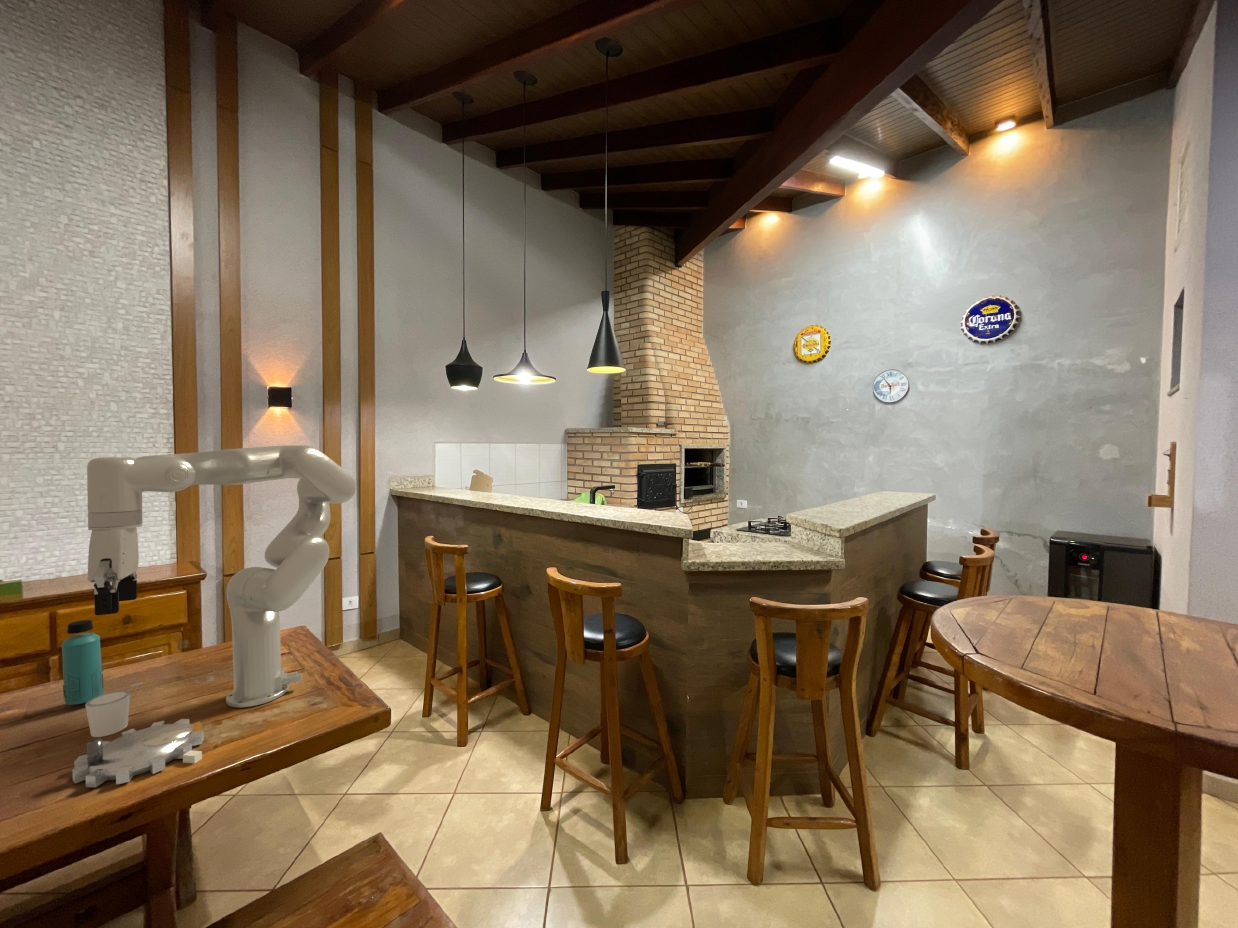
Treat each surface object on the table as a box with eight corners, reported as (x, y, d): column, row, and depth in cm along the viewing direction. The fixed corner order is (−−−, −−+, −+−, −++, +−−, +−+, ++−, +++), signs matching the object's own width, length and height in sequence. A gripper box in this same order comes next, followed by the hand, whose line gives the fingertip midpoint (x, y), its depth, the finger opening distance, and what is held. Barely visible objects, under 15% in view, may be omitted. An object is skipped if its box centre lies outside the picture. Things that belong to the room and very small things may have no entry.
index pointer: (183, 762, 96) (182, 754, 96) (190, 757, 98) (190, 750, 98) (194, 763, 96) (194, 755, 96) (202, 758, 98) (201, 751, 98)
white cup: (102, 740, 104) (101, 707, 103) (77, 736, 105) (76, 704, 105) (140, 722, 110) (139, 691, 110) (116, 718, 112) (115, 688, 111)
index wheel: (184, 718, 111) (183, 692, 111) (219, 745, 101) (218, 716, 101) (61, 764, 95) (60, 733, 95) (87, 801, 85) (86, 767, 85)
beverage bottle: (110, 699, 120) (107, 618, 119) (73, 713, 114) (69, 627, 113) (94, 695, 122) (91, 615, 121) (56, 708, 116) (52, 624, 115)
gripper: (107, 516, 103) (108, 598, 103) (68, 527, 88) (69, 623, 88) (155, 514, 107) (156, 593, 107) (125, 524, 92) (126, 616, 92)
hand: (117, 606), depth 98 cm, fingers open, 9 cm apart
